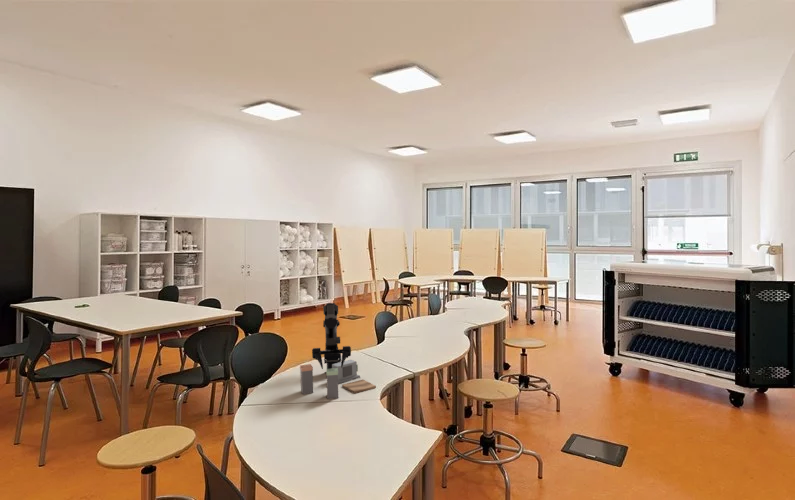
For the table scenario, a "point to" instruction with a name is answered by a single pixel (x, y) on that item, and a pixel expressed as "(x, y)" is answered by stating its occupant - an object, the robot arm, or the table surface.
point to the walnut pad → (358, 386)
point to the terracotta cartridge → (306, 378)
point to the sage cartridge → (332, 383)
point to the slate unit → (347, 371)
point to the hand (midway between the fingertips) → (332, 367)
